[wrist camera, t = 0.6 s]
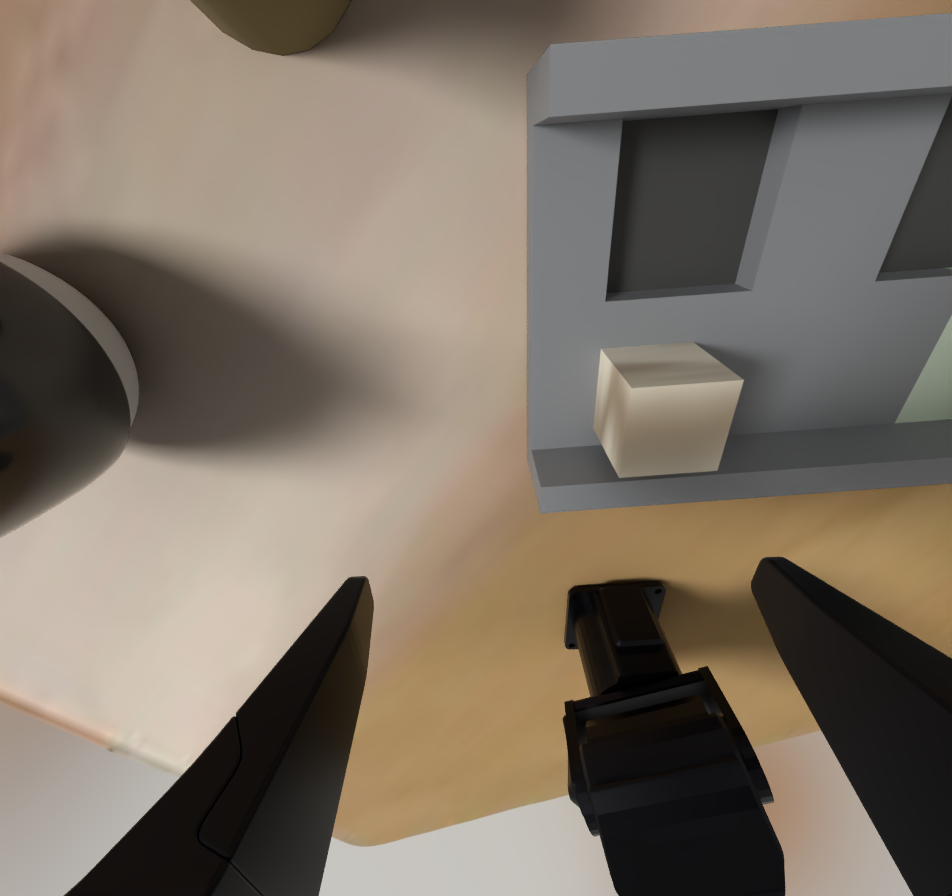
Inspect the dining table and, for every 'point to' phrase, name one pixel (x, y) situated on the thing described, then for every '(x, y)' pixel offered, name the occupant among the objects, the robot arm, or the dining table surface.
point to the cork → (275, 22)
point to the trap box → (747, 250)
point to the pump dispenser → (56, 392)
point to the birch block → (664, 408)
